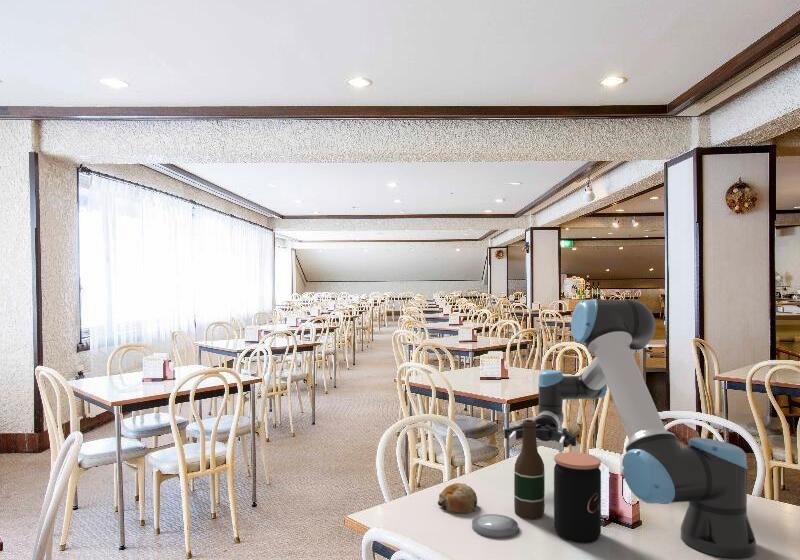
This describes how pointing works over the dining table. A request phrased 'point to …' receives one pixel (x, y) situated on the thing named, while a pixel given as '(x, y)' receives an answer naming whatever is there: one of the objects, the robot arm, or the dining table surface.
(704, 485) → the robot arm
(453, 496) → the bread roll
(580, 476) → the coffee jar
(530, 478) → the beer bottle
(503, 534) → the dish
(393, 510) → the dining table surface
